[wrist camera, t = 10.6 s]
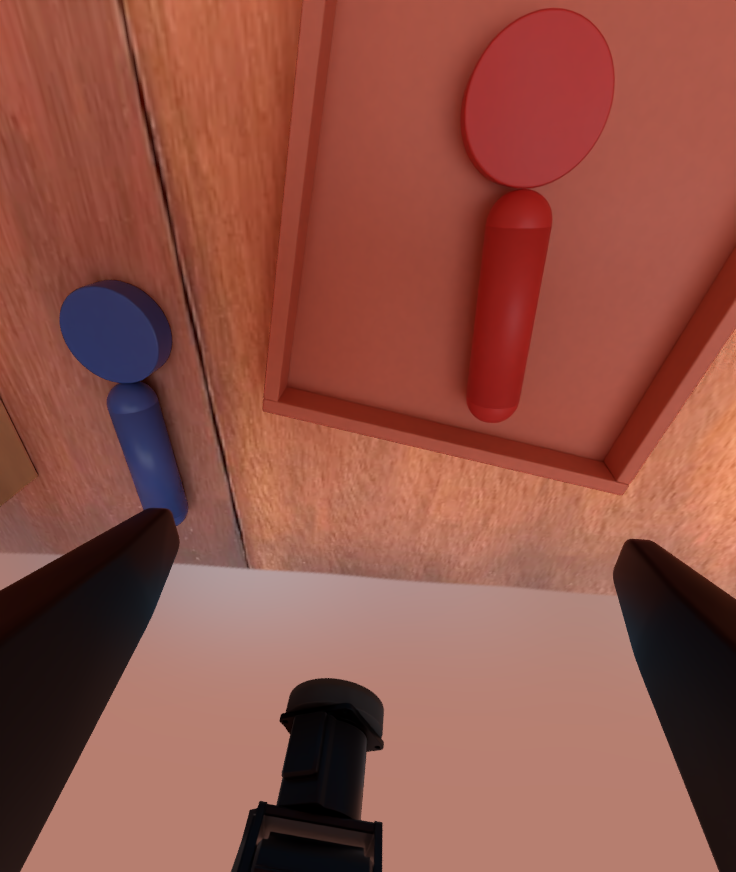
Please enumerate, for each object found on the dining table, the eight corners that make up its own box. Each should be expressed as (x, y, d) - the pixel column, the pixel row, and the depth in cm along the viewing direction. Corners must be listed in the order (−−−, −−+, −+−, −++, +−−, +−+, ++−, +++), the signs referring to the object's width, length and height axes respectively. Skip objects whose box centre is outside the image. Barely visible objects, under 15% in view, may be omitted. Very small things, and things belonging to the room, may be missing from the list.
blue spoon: (216, 513, 23) (200, 539, 22) (145, 509, 24) (124, 535, 22) (159, 280, 17) (130, 291, 15) (64, 279, 18) (26, 290, 16)
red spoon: (535, 410, 18) (547, 434, 16) (437, 406, 18) (439, 430, 17) (616, 17, 12) (650, -9, 10) (467, 24, 12) (475, -1, 10)
